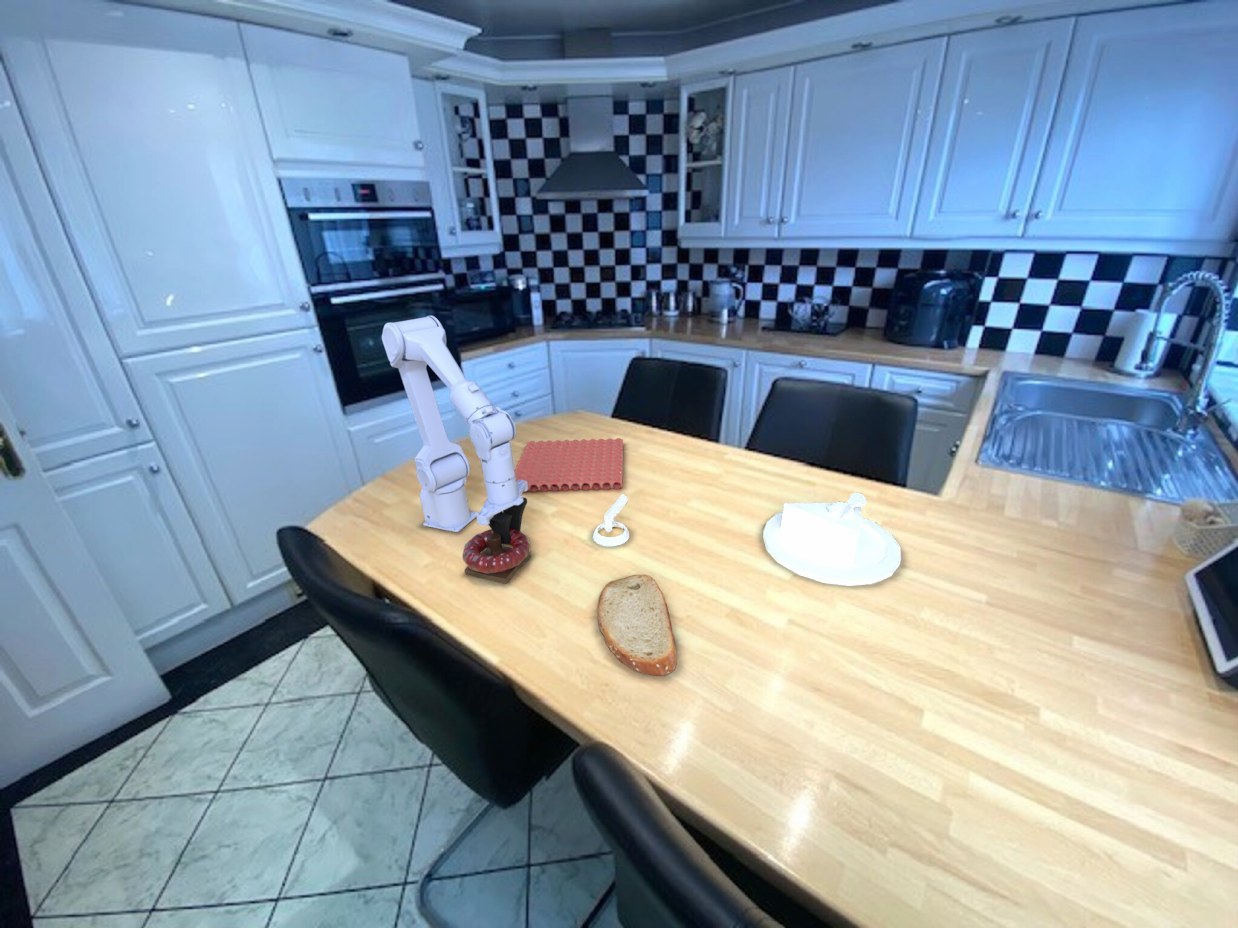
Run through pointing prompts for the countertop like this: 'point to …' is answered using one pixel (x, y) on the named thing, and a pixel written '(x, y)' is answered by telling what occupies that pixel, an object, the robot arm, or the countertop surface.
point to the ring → (495, 562)
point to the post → (496, 549)
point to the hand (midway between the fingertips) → (509, 537)
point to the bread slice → (637, 624)
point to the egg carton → (572, 465)
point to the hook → (612, 525)
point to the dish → (832, 543)
